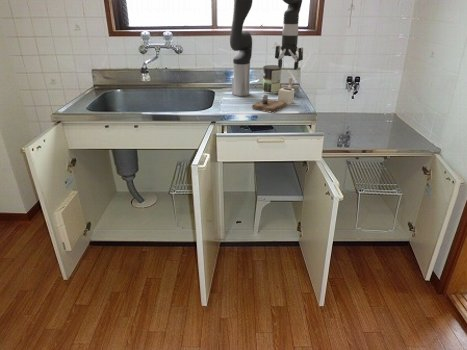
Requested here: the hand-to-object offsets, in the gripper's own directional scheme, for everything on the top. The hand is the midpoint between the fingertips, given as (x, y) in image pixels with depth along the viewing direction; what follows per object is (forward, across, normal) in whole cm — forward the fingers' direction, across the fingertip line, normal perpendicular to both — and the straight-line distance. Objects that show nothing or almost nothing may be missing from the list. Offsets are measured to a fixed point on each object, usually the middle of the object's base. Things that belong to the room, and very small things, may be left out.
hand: (287, 68), depth 174 cm
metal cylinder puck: (+16, -5, -13) cm, 21 cm away
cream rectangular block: (+18, 0, 0) cm, 18 cm away
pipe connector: (+18, -5, +14) cm, 23 cm away
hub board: (+18, -3, -12) cm, 22 cm away
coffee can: (+18, -18, +16) cm, 30 cm away
